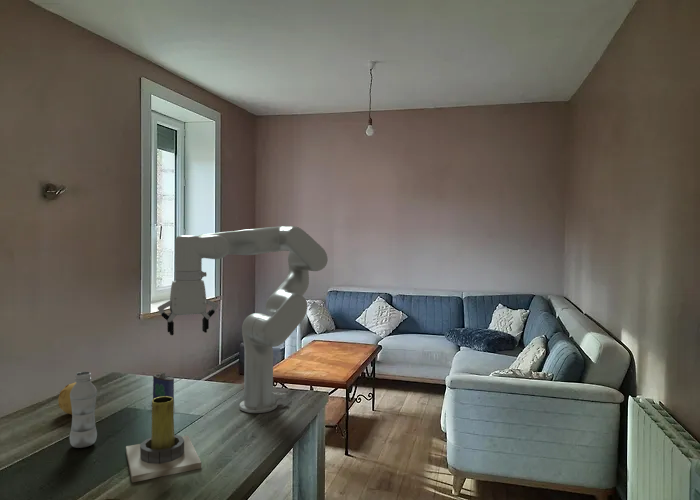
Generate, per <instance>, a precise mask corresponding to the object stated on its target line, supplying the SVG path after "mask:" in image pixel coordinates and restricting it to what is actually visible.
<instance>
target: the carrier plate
mask: <svg viewBox="0 0 700 500" xmlns="http://www.w3.org/2000/svg"><path fill="white" fill-rule="evenodd" d="M174 437H175V446H173V447H170V448H167V449H161V450H155V449H151V437H149V438H146V439H144V440H143V441H142V442H141V443H137V444H132V445H126V446H125V453H126V459H127V463H128V465H127V466H128V470H129V475H130V479H131V480H130V481H131V483H136V482H141V481H147V480H150V479H155V478H160V477H165V476H171V475H174V474H175V475H176V474H180V473H184V472H189V471H194V470H200V469H202V461H201V459H200V456H199V454H198V452H197V451H196V448H195V446H194V445H193V443H192V441H191V439H190V436H189V435H183V436H181V435H178V434H174Z"/></svg>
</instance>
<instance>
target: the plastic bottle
mask: <svg viewBox="0 0 700 500" xmlns="http://www.w3.org/2000/svg"><path fill="white" fill-rule="evenodd" d="M91 375H92V373H91V371H80V372H77V373H75V379H74V382H75V383H76V384H75V385H74V387H73V388H72V390H71V392H70V400H71V406H72V415H71V417H72V418H71V428H70V432H69V444H70V445H71V446H72V448H77V449H79V448H80V449H82V448H87V447H89V446H92V445H94V444H95V442H96V441H97V436H98V432H97V431H98V430H97V427H96V417H95V415H96V414H95V412H96V411H95V410H96V401H97V394H98V389H97V388H96V386H95V385H94V383H92V376H91Z"/></svg>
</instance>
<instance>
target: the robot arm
mask: <svg viewBox="0 0 700 500" xmlns="http://www.w3.org/2000/svg"><path fill="white" fill-rule="evenodd" d="M174 241H175V242H174V243H175V248H174V249H175V250H174V251H175V254H174V259H175V262H174V263H175V268H174V269H175V270H174V271H175V272H174V274H175V275H174V277H175V279H174V280H172V282H171V286H170V287H171V288H170V295H169V300H168V301H166V302H165V303H162V304H160V305H159V306H157V311H158V312H159V314H160V315H161V317H162V318H164V319H165V321H167V328H166V329H167V333H169V334H170V336H174V334H175V331H174V330H175V328H174V325H175V323H174V319H175V317H176V316H185V315H187V316H189V315H202V316H203V317H202V318H201V319H202V328H201V329H202V332H204V333H206V334H207V333H208V330H209V328H210V327H209V324H210V322H209V320H210V319H211V317H212V316H213V315H214V314H215V312H216V310H217V308H218V306H219V305H218V303H216V302H214V301H212V300H209V299H207V295H206V294H207V293H206V286H205V285H206V284H205V281H204V280H203V278H204V277H207V271H203V270H202V265H203V263H202V262H203V260H202V259H208V260H209V259H210V260H221V259H223V258H225V257H226V256H227V255H240V256H255V255H261V254H269V253H276V252H277V253H278V252H288V255H287V262H288V272H287V276H286V277H285V279H283V281H282V282H281V284H280V285H279V286H278V287H277V288H276V289H275V290H274V291H273V292H272V293H271V294H270V296H269V297H268V298H267V300H266V302H265V311H266V312H267V313H268V314H265V313H262V312H254V313H251V314H249V315H247V316H246V317H245V318H244V320H243V322H242V326H241V334H242V341H243V346H244V348H243V349H244V365H243V366H244V372H243V373H244V375H243V377H244V379H243V381H244V382H243V383H244V385H243V387H244V388H243V390H244V391H243V395H244V396H243V398H244V399H243V400H242V401H241V402H240V403H239V405H238V406H239V407H238V408H239V410H241V411H242V412H245V413H249V414H261V413H262V414H263V413H268V412H271V411H273V410H275V409H277V407H278V401H279V400H286V399H287V397H288V395H287V393H286V392H282V393H281V392H280V391H278V392H274V349H273V348H275V347H278V346H281V345H282V344H283V343H284V342H285V341H287V339H288V338H289V337H290V336H291V335H292V333H293V332H294V331H295V330H296V328H298V326H299V325H300V324H301V323H302V321H303V320H304V318H305V317H306V315H307V312H308V301H307V299H306V298H305V296H304V295H305V293H306V292H307V290H308V289H309V285H310V275H309V273H310V271H311V272H319V271H322V270H323V269H325V268H326V266H327V264H328V258H329V257H328V253H327V252H326V250H325V249H324V248H323V247H322V246H321V245H320V243H318V242H317V241H316V240H315V239H314V238H313V237H312V236H310V235H309V233H307V231H305V230H304V229H302V228H300V227H299V226H295V225H294V226H293V225H291V226H290V225H289V226H287V225H278V226H269V227H258V228H250V229H249V228H248V229H241V230H234V231H233V230H231V231H221V232H211V233H202V234H199V235H194V234H193V235H190V234H187V235H186V234H184V235H182V234H181V235H178V236H176V237H175V240H174ZM207 305H209V306H211V307H210V310H209V311H207ZM167 308H169V312H170V313H169V314H167V313H166V311H165V309H167Z"/></svg>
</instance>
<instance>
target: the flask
mask: <svg viewBox="0 0 700 500" xmlns="http://www.w3.org/2000/svg"><path fill="white" fill-rule="evenodd" d="M166 373H167V372H166V371H161V372H159V373H157V374H154V375H153V376H152V378H153V380H152V384H153V385H152V400H153V399H154V398H157V397H162V396H169V397H172V398H173V399H174V400H173V405H174V404H175V394H174V393H175V384H174V383H175V378H174V377H169V376H166Z"/></svg>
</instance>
